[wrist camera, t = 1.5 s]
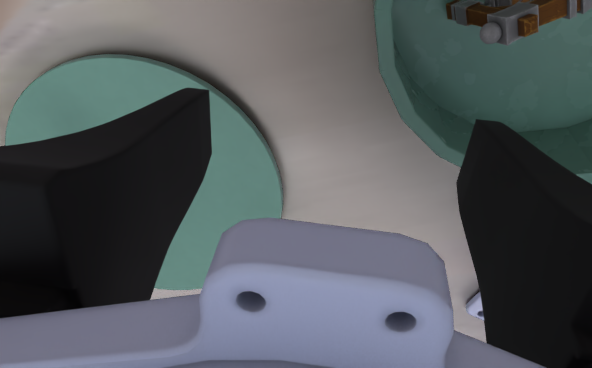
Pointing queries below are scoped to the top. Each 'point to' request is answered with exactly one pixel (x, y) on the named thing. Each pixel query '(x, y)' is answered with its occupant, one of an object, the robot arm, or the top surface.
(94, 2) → the top surface
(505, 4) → the wooden post with brackets
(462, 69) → the tin
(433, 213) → the top surface
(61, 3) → the top surface
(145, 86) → the tin lid
